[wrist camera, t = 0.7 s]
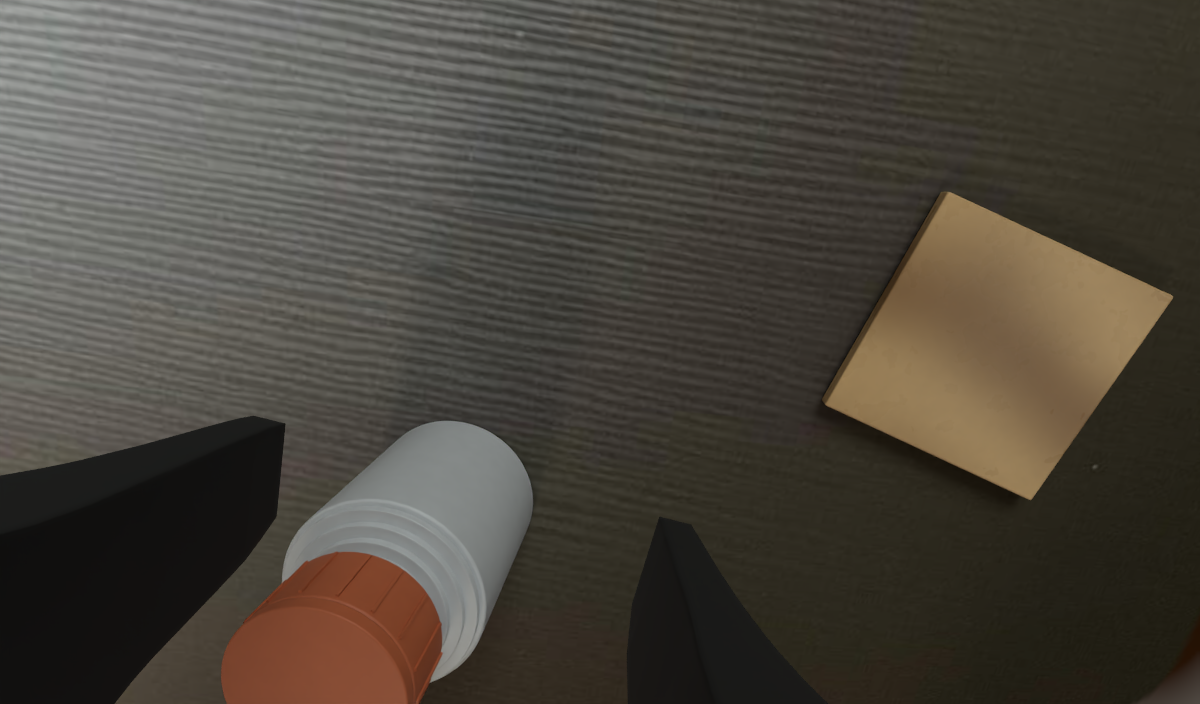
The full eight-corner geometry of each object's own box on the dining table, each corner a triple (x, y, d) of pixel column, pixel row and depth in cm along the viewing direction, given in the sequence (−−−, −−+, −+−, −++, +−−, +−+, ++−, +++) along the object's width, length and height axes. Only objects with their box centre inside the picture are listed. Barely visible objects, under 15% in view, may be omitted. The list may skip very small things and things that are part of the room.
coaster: (1021, 493, 23) (1031, 501, 22) (820, 400, 23) (824, 405, 22) (1161, 293, 21) (1175, 296, 20) (940, 190, 21) (948, 191, 20)
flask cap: (410, 725, 18) (371, 805, 16) (259, 655, 18) (198, 724, 16) (469, 595, 17) (436, 660, 14) (308, 520, 17) (250, 574, 14)
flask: (498, 591, 26) (397, 821, 16) (358, 526, 26) (176, 718, 16) (558, 462, 24) (486, 633, 15) (409, 393, 24) (242, 520, 15)
